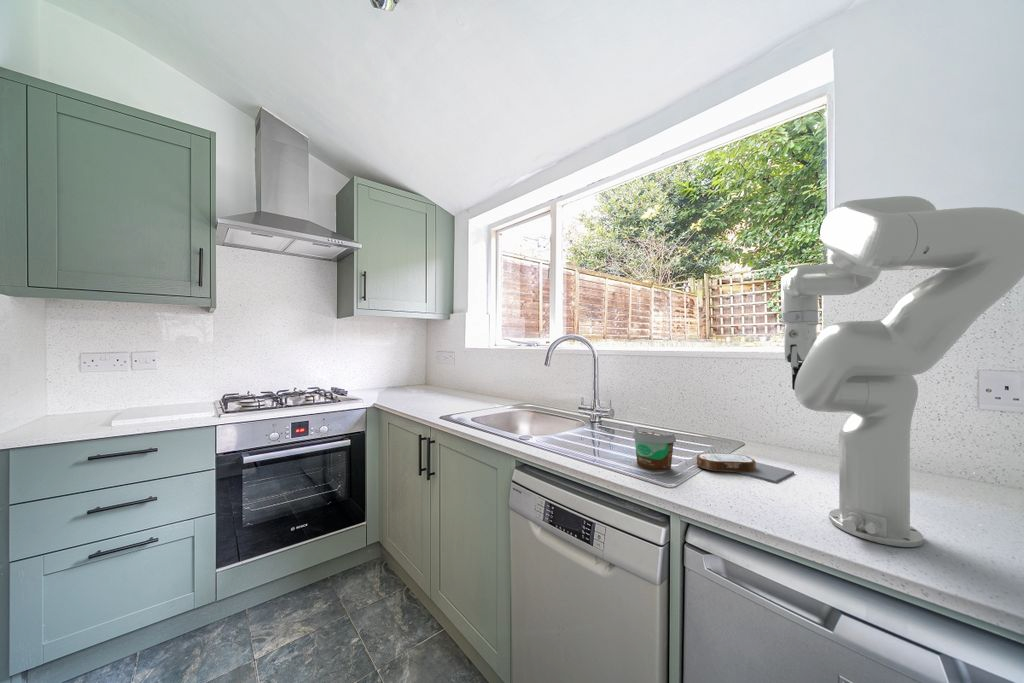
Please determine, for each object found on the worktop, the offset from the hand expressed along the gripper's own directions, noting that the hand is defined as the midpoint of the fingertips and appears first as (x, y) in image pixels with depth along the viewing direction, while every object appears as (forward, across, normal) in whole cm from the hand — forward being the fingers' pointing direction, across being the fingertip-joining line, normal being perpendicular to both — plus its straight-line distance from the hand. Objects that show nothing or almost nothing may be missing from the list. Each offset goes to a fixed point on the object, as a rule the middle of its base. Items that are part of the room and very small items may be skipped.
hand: (800, 389), depth 94 cm
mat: (+23, -1, +11) cm, 26 cm away
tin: (+21, -9, +13) cm, 26 cm away
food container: (+24, -22, +30) cm, 44 cm away
